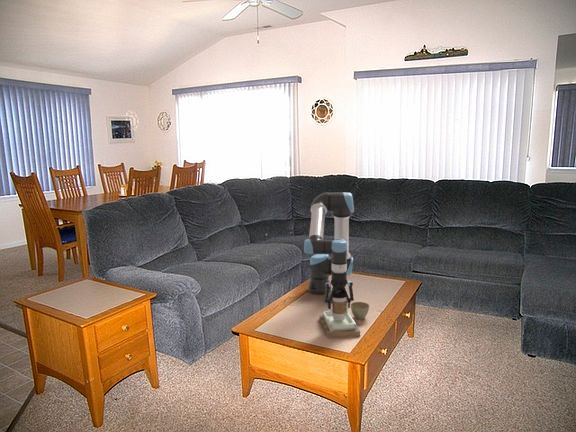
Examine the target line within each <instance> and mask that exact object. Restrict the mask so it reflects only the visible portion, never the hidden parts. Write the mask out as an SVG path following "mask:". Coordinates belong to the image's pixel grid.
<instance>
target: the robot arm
mask: <svg viewBox="0 0 576 432" xmlns="http://www.w3.org/2000/svg"><path fill="white" fill-rule="evenodd" d="M353 197H354V196H353V194H352V193H351V192H344V191H343V192H326V191H325V192H323V193H320V194H319V195H318V196H316V197H314V199H313V201H312V202H311V205H310V213H311V215H310V216H311V218H310V225H309V226H310V227H309V232H308V233H309V235H308V239H304V243H303V252H304V254H307V255H308V254H309V255H310V254H311V255H312V256H310V258H309V259H310V260H309V265H310V268H309V269H310V270H309V271H310V272H309V273H310V279H309V280H308V281H309V282H308V285H307V291H308V293H310V294H314V295H324V300H323V301H324V302H325V303H327V308H328V310H329V311H330V315H331V316H332V299H333V297H332V294H333V292H334V293H335V292H336V290H339V289H343V292H344V293H345V292H347V289H346V286H348V293H349V295H348V293H347V298H346V299H347V302H346V311H345V313H346V315H348V312H349V309H351V303H352V302H355V301H354V292H353V285H354V284H353V281H351V280H347V276H350V275H352V272H353V267H354V257H353V256H352V254H351V253H350V252H349V248H350V247H349V245H350V244H349V243H350V241H349V240H350V239H349V237H350V236H349V234H350V224H349V223H350V217H352V214H353V213H354V212H355V206H354V198H353ZM327 213H331V216H332V217H333V219H334V239H324V233H325V231H324V230H325V221H326V220H325V217H326V214H327ZM330 255H331V256H330ZM329 276H331V281H330V279H329Z"/></svg>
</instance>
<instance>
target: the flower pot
mask: <svg viewBox="0 0 576 432" xmlns="http://www.w3.org/2000/svg"><path fill="white" fill-rule="evenodd" d="M350 310H351V313H352V315H353V317H354V318H355V319H356V320H364V319H365V318H366V317H367V315H368V313H369V310H370V304H369V303H367V302H363V301H352V302H350Z"/></svg>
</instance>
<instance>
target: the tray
mask: <svg viewBox="0 0 576 432" xmlns="http://www.w3.org/2000/svg"><path fill="white" fill-rule="evenodd" d="M322 315H323V318H324V320H325V322H326V324H327V326H328V328H329V330H330V331H344V330H356V325H357V323H356V322H355V319H353V317H352V316H351V314H350V313H349V311H348V315H346V313H345V319H344V320H342V321H337V320H334V319H333V311H332V316H331V315H330V310H322Z"/></svg>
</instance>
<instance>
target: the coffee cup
mask: <svg viewBox="0 0 576 432" xmlns="http://www.w3.org/2000/svg"><path fill="white" fill-rule="evenodd" d="M347 294H348V292H347V291H346V292H345V293H344V292H343V289H339V290H336V292H335V293H334V292H333V294H332V297H333V299H332V311H333V319H334V320H337V321H342V320H344V319H345V311H346V302H347V299H346V298H347Z"/></svg>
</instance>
